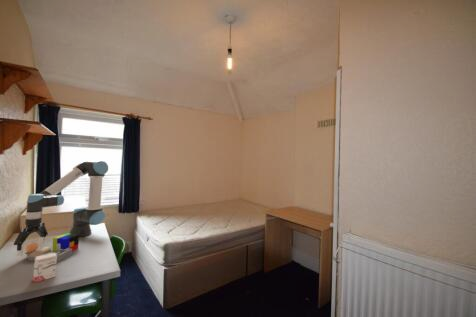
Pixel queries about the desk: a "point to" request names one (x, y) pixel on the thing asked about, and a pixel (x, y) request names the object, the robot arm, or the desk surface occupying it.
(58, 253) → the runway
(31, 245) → the ball
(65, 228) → the desk surface
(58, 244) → the puzzle toy
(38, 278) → the ink box
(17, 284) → the desk surface
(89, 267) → the desk surface
